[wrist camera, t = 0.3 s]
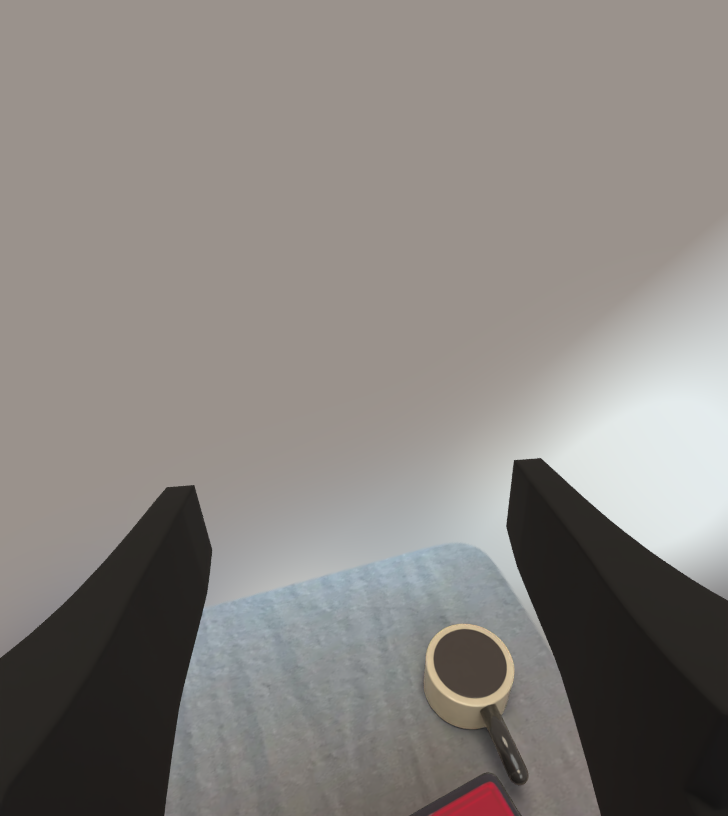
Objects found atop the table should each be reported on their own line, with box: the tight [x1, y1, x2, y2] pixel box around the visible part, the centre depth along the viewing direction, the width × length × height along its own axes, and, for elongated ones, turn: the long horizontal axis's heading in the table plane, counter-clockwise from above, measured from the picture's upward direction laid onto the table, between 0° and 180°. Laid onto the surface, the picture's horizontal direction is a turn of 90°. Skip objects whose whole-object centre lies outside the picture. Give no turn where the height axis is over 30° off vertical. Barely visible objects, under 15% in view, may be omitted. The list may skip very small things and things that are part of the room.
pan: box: [423, 624, 529, 785], centre depth 29 cm, size 8×5×2 cm, turn 16°
